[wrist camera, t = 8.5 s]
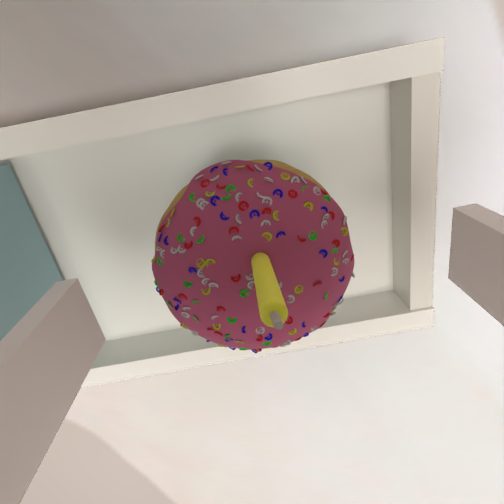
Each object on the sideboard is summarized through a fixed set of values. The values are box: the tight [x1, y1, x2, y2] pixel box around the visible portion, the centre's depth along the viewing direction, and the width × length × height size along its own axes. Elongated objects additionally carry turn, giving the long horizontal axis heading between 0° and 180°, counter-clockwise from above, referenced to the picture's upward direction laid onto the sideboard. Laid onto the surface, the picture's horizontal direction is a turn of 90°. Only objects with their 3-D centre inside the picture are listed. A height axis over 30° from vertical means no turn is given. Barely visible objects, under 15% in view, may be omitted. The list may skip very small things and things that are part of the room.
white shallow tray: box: [0, 37, 445, 388], centre depth 18 cm, size 14×25×3 cm, turn 100°
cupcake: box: [151, 160, 355, 353], centre depth 13 cm, size 9×8×12 cm
